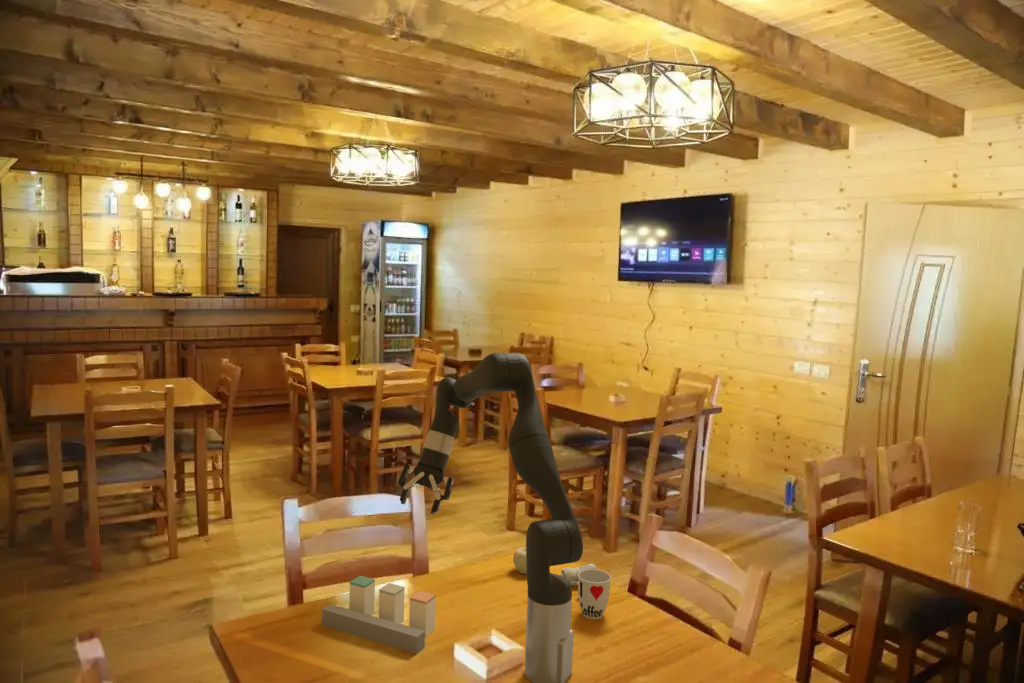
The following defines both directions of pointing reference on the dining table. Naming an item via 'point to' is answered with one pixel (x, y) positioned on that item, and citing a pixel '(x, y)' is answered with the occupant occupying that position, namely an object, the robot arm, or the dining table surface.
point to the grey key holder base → (374, 628)
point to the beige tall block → (391, 603)
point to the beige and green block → (362, 595)
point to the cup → (593, 592)
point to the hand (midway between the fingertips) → (417, 508)
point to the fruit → (520, 560)
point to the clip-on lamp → (575, 573)
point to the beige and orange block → (422, 612)
